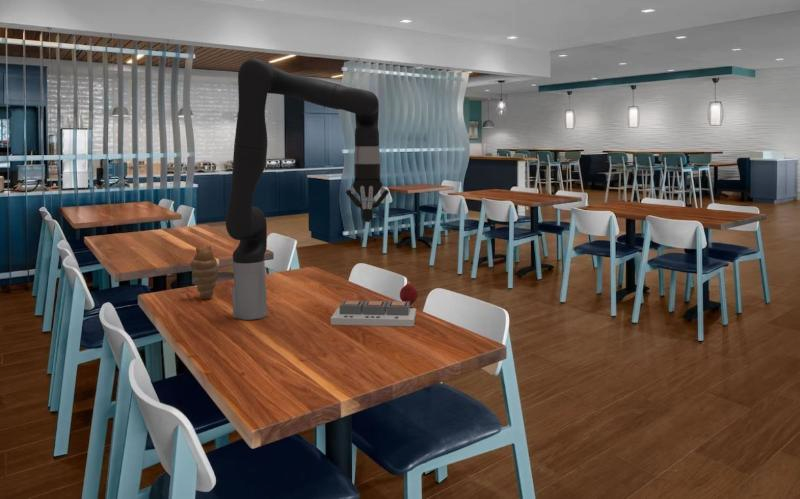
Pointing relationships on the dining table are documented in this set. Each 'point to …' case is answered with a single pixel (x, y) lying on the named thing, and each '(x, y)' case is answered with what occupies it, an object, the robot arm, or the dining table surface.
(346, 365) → the dining table surface
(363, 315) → the button panel
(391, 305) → the button one
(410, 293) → the onion
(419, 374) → the dining table surface
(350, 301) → the button two
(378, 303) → the button three
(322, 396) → the dining table surface
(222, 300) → the dining table surface
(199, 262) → the cat ice cream
